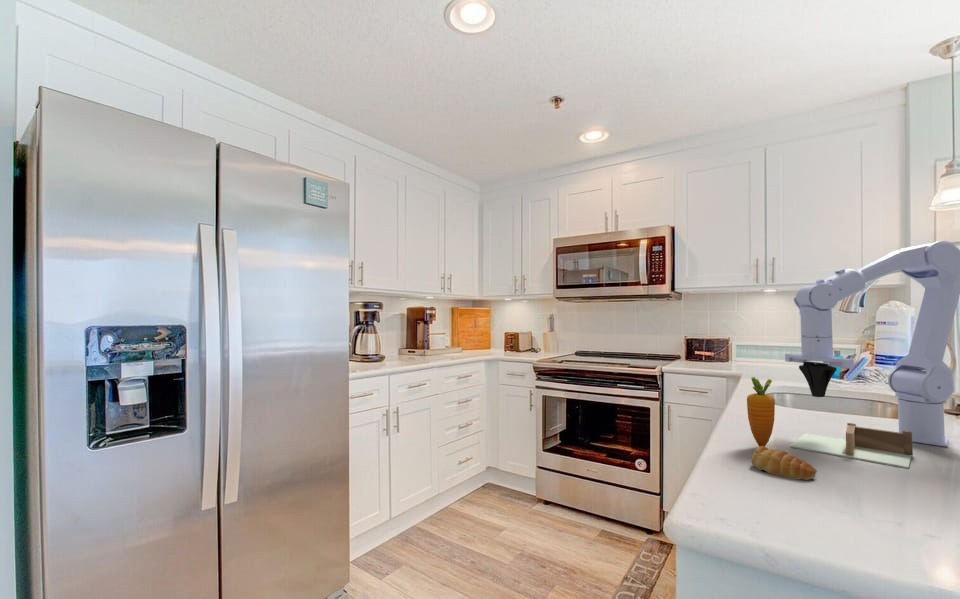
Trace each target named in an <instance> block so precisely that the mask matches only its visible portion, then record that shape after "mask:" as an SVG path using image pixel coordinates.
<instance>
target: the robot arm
mask: <svg viewBox="0 0 960 599" xmlns="http://www.w3.org/2000/svg"><path fill="white" fill-rule="evenodd" d="M896 271H899V272H901V273H902V274H903V275H905V276H907V277H908V278H910V279H912V280H913V281H915V282H917V283H919V284H920V285H921V286H922V287H923V288H924V292H923V297H922V301H921V304H920V308H919V311H918V316H917V319H916V323H915V327H914V331H913V336H912V339H911V343H910V346H909V351H908V353H907V354H906V355H905V356H903V357H902V358H900V359H898V360H897V361H896V365H895V366H894V369H893V370H892V371H891V372H890V373H889V375H888V377H887V384H888V386H889V388H890V389H891V391H892V392H894V393H895V397H897V415H898V416H897V418H898V430H897V432H900V433H902V431H911V432H912V443H918V444H919V443H920V444H926V445H933V446H939V447H940V446H941V447H948V446H949V445H948V443H949V442H948V436H947V435H945V415H944V413H945V412H944V411H945V410H944V404H946V403H947V400H948V399H950V397H951V396H952V395H953V392H954V387H955V386H954V383H953V373H954V370H953V369H951V367H950V366H948V365H947V364H946V363H945V362H944V361H943V360H944V356H945V353H946V349H947V345H948V341H949V337H950V333H951V330H952V325H953V323H954V319H955V314H956V311H957V307H958V303H959V300H960V248H958V247H957V246H956V244H954V243H953V242H950V241H947V240H938V241H935V242H933V243H932V242H931V243H926V244H921V245H920V244H919V245H916V246H914V245H913V246H905V247H902V248H899V249H898V250H894V251H891V252H889V253H887V254H886V255H884V256H882V257H880V258H878V259H875V260H874V261H872V262H870V263H868V264H866V265H865V266H862V267H860V268H858V269H856V270H855V269H853V268H846V269H845V268H840V269H837V270H835V271H834V273H835V274H832V275H831V276H829V277H828V276H827V278H824V279H823V278H820V279H817V280H815V284H813V285H806V286H802V287H801V288H800V289H798V291H797V293H796V296H795V297H793V301H794V304H795V306H796V307H797V308H798V309H799V315H800V316H799V317H800V342H801V353H791V352H790V353H785V354H784V359H785V360H784V361H785V362H786V363H787V362H788V363H790V362H792V363H797V364H798V363H799V364H800V363H801V364H800V365H798V369H799V370H800V372H801V373H802V374H803V377H804V379H805V380H806V381H807V382H806V383H807V384H808V387H809V390H810V393H811V395H812V397H815V398H824V397H825V396H826V392H827V389H828V386H829V383H830V381H831V379H832V377H833V376H834V375H835V373H836V372H837V368H843V369H855V359H854V358H848V357H847V358H844V357H839V356H834V352H833V351H834V346H833V345H834V343H833V318H832V317H833V315H832V314H833V313H832V309H833V308H835V307H836V305H837V304H838V302H840V301H842V300H845V299H846V298H849V297H852V296H853V295H855V294H858V293H860V292H862V291H863V290H865V288H866V285H867V283H868V282H871V281H873V280H875V279H879V278H880V277H883V276H885V275H888V274H890V273H893V272H896Z"/></svg>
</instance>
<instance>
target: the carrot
mask: <svg viewBox="0 0 960 599" xmlns="http://www.w3.org/2000/svg"><path fill="white" fill-rule="evenodd" d="M750 379H751V382H752V384H753V386H752V389H753V390H754V391H755V393H754V392H753V393H751V394H749V395H748V396H747V397H746V408H747V409H746V410H747V418H748V419H747V420H748V424H749V428H750V431H751V435H752V437H753V438H754V441H755V443H757V445H758V447H759V446H764V447H767V445H768V443H769V441H770V439H771V436H772V434H773V430H774V426H775V425H774V423H775V410H776V409H775V405H776V404H775V403H776V402H775V398H774V397H773V396H772V395H769V394H767V393H766V392H767V390H768V389H769V387H770V386H771V383H772V382H773V380H772V379H770V378H769V379H767V380H766V382H765V383H764V386H763V385H762V384H761V382H760V380H759V378H756V377H755V376H752V377H751V378H750Z"/></svg>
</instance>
